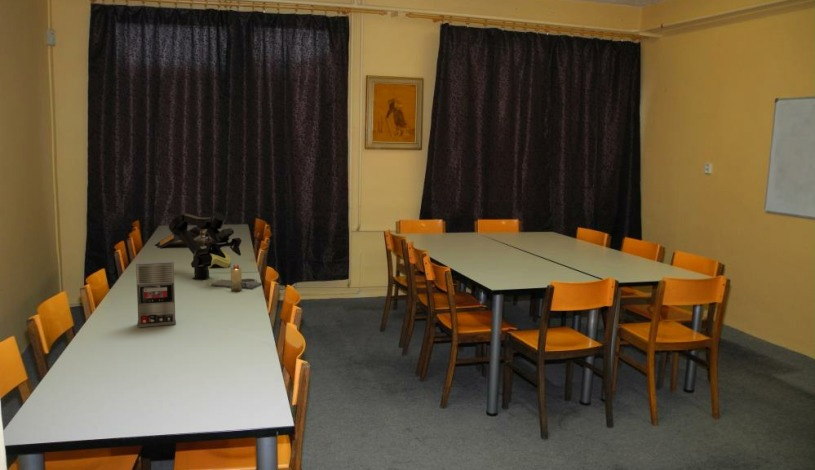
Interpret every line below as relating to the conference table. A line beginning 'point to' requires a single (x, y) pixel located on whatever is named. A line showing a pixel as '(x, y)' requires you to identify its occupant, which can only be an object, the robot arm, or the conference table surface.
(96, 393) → the conference table surface
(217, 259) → the plastic component
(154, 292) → the cassette tape recorder
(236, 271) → the tan bottle
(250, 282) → the plate
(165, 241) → the toolset
